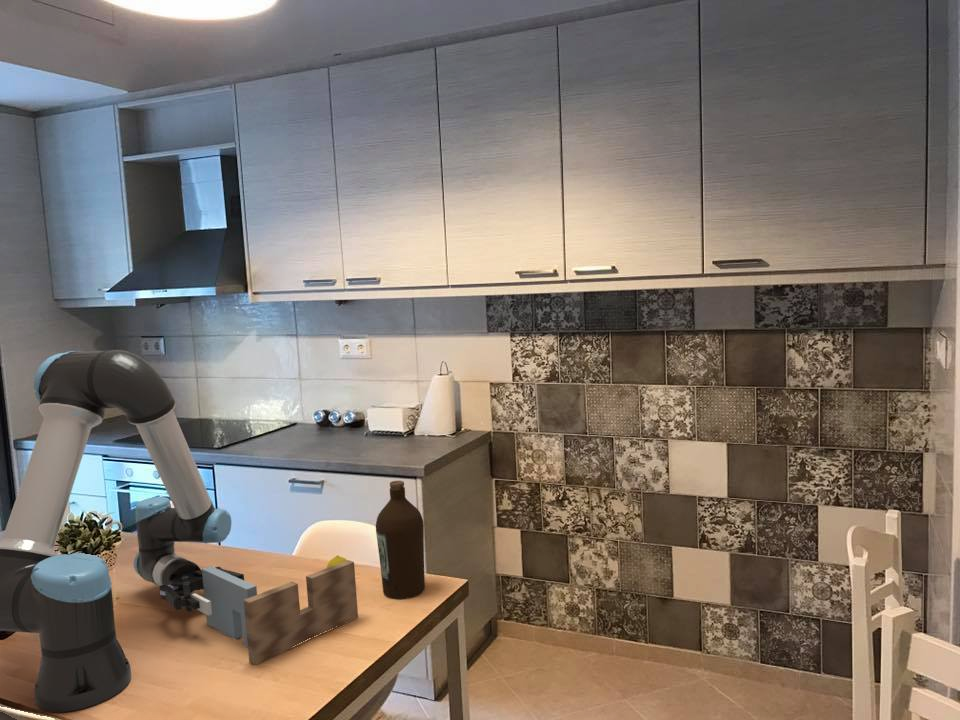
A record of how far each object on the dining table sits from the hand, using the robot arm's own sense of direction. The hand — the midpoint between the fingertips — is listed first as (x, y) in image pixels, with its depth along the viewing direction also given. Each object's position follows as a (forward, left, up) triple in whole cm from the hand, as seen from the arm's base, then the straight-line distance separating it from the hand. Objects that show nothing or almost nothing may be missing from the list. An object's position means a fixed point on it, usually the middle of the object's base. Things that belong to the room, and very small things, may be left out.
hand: (229, 600), depth 149 cm
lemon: (+24, -11, -7) cm, 28 cm away
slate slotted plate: (0, 0, -7) cm, 7 cm away
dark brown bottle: (+26, -26, -7) cm, 38 cm away
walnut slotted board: (+1, -16, -7) cm, 18 cm away
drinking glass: (+36, +84, -7) cm, 91 cm away
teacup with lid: (+36, +69, -7) cm, 78 cm away
